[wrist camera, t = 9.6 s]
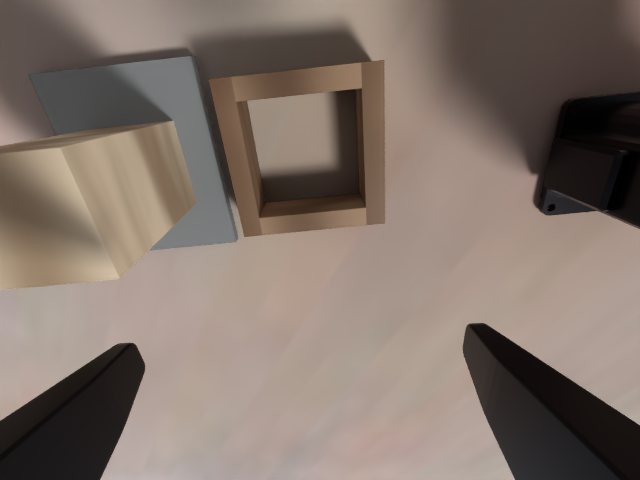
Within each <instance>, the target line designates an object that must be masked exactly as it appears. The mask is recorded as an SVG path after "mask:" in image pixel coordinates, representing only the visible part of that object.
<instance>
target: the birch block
mask: <svg viewBox="0 0 640 480" xmlns="http://www.w3.org/2000/svg"><path fill="white" fill-rule="evenodd" d="M196 203H197V201H196V198H195V194H194V191H193V187H192V184H191V180H190V177H189V173H188V170H187V166H186V163H185V159H184V156H183V152H182V149H181V145H180V142H179V138H178V135H177V131H176V128H175V124H174V121H166V122H156V123H147V124H137V125H128V126H118V127H109V128H99V129H90V130H84V131H79V132H73V133H68V134H63V135H57V136H52V137H47V138H41V139H36V140H31V141H25V142H20V143H15V144H9V145H4V146H0V290H8V289H18V288H29V287H40V286H51V285H61V284H72V283H83V282H94V281H104V280H115V279H121V278H122V277H123V276H124V275H125V274H126V273H127V272H128V271H129V270H130V269H131V268H132V267H133V266H134V265H135V264H136V263H137V262H138V261H139V260H140V259H141V258H142V257H143V256H144V255H145V254H146V253H147V252H148V251H149V250H150V249H151V248H152V247H153V246H154V245H155V244H156V243H157V242H158V241H159V240H160V239H161V238H162V237H163V236H164V235H165V234H166V233H167V232H168V231H169V230H170V229H171V228H172V227H173V226H174V225H175V224H176V223H177V222H178V221H179V220H180V219H181V218H182V217H183V216H184V215H185V214H186V213H187V212H188V211H189V210H190V209H191V208H192V207H193V206H194V205H195V204H196Z"/></svg>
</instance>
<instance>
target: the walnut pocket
mask: <svg viewBox="0 0 640 480" xmlns="http://www.w3.org/2000/svg"><path fill="white" fill-rule="evenodd" d="M208 80H209V84H210V89H211V93H212V97H213V102H214V106H215V110H216V115H217V119H218V123H219V128H220V132H221V137H222V141H223V145H224V150H225V154H226V158H227V163H228V167H229V172H230V176H231V180H232V185H233V189H234V193H235V198H236V202H237V206H238V211H239V215H240V220H241V224H242V228H243V233H244V237H248V236H259V235H269V234H279V233H290V232H300V231H310V230H321V229H331V228H341V227H351V226H362V225H372V224H382V223H385V119H384V60H379V61H370V62H361V63H352V64H343V65H334V66H325V67H316V68H307V69H298V70H289V71H280V72H271V73H262V74H252V75H243V76H234V77H225V78H216V79H208ZM349 89H355V96H356V120H357V144H358V168H359V191H360V193H357V194H347V195H337V196H327V197H317V198H307V199H297V200H287V201H277V202H267V203H266V202H265V196H264V191H263V186H262V180H261V175H260V169H259V164H258V159H257V153H256V148H255V142H254V137H253V132H252V126H251V121H250V115H249V110H248V105H247V101H248V100H257V99H266V98H276V97H285V96H294V95H303V94H313V93H322V92H331V91H340V90H349Z"/></svg>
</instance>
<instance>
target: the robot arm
mask: <svg viewBox="0 0 640 480" xmlns="http://www.w3.org/2000/svg"><path fill="white" fill-rule="evenodd" d="M574 105H575V110H574V111H573V112H572V113H571V109H572V107H573V106H574ZM550 204H551V206H550V208H548V209H547V207H548V206H549V205H550ZM539 211H540V212H542V213H543V214H545V215H559V214H569V213H580V212H590V211H599V212H601V213H604V214H606V215H608V216H611V217H613V218H615V219H618V220H620V221H622V222H624V223H627V224H629V225H631V226H634V227H636V228H638V229H640V91H638V92H628V93H619V94H609V95H600V96H590V97H581V98H572V99H569V100H568V101H566V102H565V103H564V104H563V106H562V108H561V111H560V115H559V120H558V124H557V128H556V133H555V137H554V142H553V144H552V148H551V152H550V157H549V161H548V166H547V170H546V174H545V179H544V183H543V189H542V194H541V198H540V202H539ZM463 354H464V357H465V360H466V363H467V366H468V369H469V372H470V374H471V377H472V380H473V383H474V386H475V389H476V392H477V395H478V397H479V400H480V403H481V406H482V408H483V411H484V414H485V416H486V418H487V421H488V423H489V425H490V427H491V429H492V431H493V433H494V436H495V438H496V440H497V442H498V444H499V446H500V448H501V451H502V453H503V455H504V457H505V459H506V461H507V463H508V465H509V468H510V470H511V472H512V474H513V476H514V478H515V480H640V425H638V424H637V423H635V422H634V421H632V420H631V419H629V418H628V417H626V416H625V415H623V414H622V413H620V412H619V411H617V410H616V409H614V408H613V407H611V406H609V405H608V404H606V403H605V402H603V401H602V400H600V399H599V398H597V397H596V396H594V395H593V394H591V393H590V392H588V391H587V390H585V389H584V388H582V387H581V386H579V385H578V384H576V383H575V382H573V381H572V380H570V379H569V378H567V377H565V376H564V375H562V374H561V373H559V372H558V371H556V370H555V369H553V368H552V367H550V366H549V365H547V364H546V363H544V362H543V361H541V360H540V359H538V358H537V357H535V356H534V355H532V354H531V353H529V352H528V351H526V350H524V349H523V348H521V347H520V346H518V345H517V344H515V343H514V342H512V341H511V340H509V339H508V338H506V337H505V336H503V335H502V334H500V333H499V332H497V331H496V330H494V329H493V328H491V327H490V326H488V325H486V324H484V323H472V324H468V325H467V327H466V331H465V337H464V342H463ZM144 372H145V363H144V361H143V359H142V356H141V354H140V352H139V350H138V348H137V346H136V345H135V344H134V343H120V344H117V345H115V346H113V347H112V348H110V349H109V350H107V351H106V352H104V353H103V354H101V355H100V356H98V357H97V358H95V359H94V360H92V361H91V362H89V363H87V364H86V365H84V366H83V367H81V368H80V369H78V370H77V371H75V372H74V373H72V374H71V375H69V376H68V377H66V378H65V379H63V380H62V381H60V382H59V383H57V384H56V385H54V386H53V387H51V388H50V389H48V390H46V391H45V392H43V393H42V394H40V395H39V396H37V397H36V398H34V399H33V400H31V401H30V402H28V403H27V404H25V405H24V406H22V407H21V408H19V409H18V410H16V411H15V412H13V413H12V414H10V415H9V416H7V417H5V418H4V419H2V420H1V421H0V480H100V479H101V477H102V474H103V472H104V470H105V468H106V466H107V464H108V462H109V460H110V457H111V455H112V453H113V451H114V449H115V447H116V445H117V443H118V440H119V438H120V436H121V434H122V431H123V429H124V427H125V424H126V422H127V419H128V416H129V414H130V411H131V408H132V405H133V403H134V400H135V397H136V394H137V392H138V389H139V386H140V383H141V381H142V378H143V375H144Z"/></svg>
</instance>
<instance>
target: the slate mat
mask: <svg viewBox="0 0 640 480" xmlns="http://www.w3.org/2000/svg"><path fill="white" fill-rule="evenodd" d="M28 75H29V78H30V80H31V82H32V84H33V86H34V89H35V91H36V93H37V95H38V97H39V100H40V102H41V104H42V106H43V108H44V111H45V113H46V115H47V117H48V119H49V121H50V124H51V126H52V128H53V130H54V132H55V135H56V136H57V135H63V134H68V133H73V132H79V131H84V130H90V129H99V128H109V127H118V126H128V125H137V124H147V123H156V122H166V121H174V124H175V128H176V131H177V135H178V138H179V142H180V145H181V149H182V152H183V156H184V159H185V163H186V166H187V170H188V173H189V177H190V180H191V184H192V187H193V191H194V194H195V198H196V201H197V203H196V204H195V205H194V206H193V207H192V208H191V209H190V210H189V211H188V212H187V213H186V214H185V215H184V216H183V217H182V218H181V219H180V220H179V221H178V222H177V223H176V224H175V225H174V226H173V227H172V228H171V229H170V230H169V231H168V232H167V233H166V234H165V235H164V236H163V237H162V238H161V239H160V240H159V241H158V242H157V243H156V244H155V245H154V246H153V247H152V248H151V249H150V250H159V249H169V248H179V247H190V246H200V245H210V244H221V243H231V242H236V241H237V239H238V235H237V231H236V227H235V222H234V218H233V214H232V210H231V206H230V202H229V197H228V193H227V189H226V185H225V181H224V177H223V172H222V168H221V164H220V160H219V156H218V151H217V147H216V143H215V139H214V135H213V131H212V126H211V122H210V118H209V114H208V110H207V106H206V101H205V97H204V93H203V89H202V85H201V80H200V76H199V72H198V68H197V64H196V60H195V57H193V56H186V57H177V58H168V59H159V60H150V61H141V62H132V63H123V64H115V65H106V66H97V67H88V68H79V69H70V70H61V71H52V72H43V73H35V74H28Z"/></svg>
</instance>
